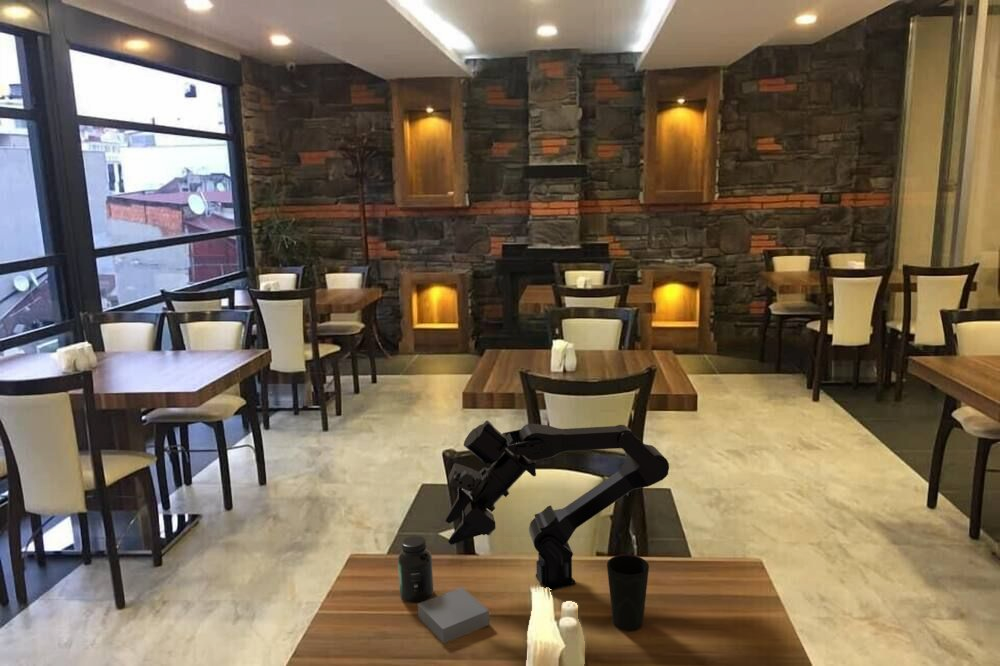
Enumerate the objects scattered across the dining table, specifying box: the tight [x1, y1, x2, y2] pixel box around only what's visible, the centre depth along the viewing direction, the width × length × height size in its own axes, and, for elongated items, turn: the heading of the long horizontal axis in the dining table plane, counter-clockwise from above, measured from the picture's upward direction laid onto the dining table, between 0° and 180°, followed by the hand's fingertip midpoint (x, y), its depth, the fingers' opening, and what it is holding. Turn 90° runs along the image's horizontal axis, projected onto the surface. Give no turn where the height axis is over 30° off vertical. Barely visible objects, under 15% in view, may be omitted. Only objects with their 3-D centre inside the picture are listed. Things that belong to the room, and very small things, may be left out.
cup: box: [606, 554, 650, 632], centre depth 139 cm, size 8×8×12 cm
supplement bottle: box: [397, 535, 434, 604], centre depth 151 cm, size 7×7×12 cm
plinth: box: [417, 587, 491, 645], centre depth 143 cm, size 10×10×3 cm
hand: (448, 532), depth 151 cm, fingers open, 9 cm apart
